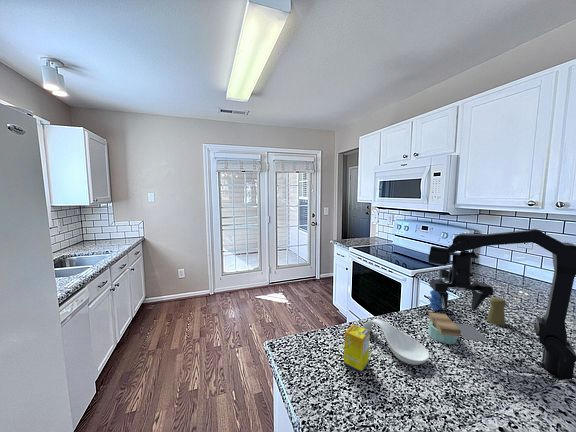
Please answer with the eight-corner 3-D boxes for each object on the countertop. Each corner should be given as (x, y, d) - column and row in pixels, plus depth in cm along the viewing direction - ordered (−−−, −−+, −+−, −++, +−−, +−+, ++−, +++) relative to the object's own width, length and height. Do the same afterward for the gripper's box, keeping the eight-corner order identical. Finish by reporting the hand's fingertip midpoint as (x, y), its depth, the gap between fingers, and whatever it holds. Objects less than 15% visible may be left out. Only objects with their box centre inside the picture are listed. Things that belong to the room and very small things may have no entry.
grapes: (440, 318, 106) (442, 291, 105) (424, 311, 111) (426, 286, 110) (451, 311, 113) (453, 286, 112) (435, 305, 118) (437, 281, 117)
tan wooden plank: (460, 336, 84) (460, 330, 84) (441, 334, 85) (441, 328, 85) (445, 319, 96) (445, 314, 96) (428, 317, 97) (428, 312, 97)
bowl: (461, 346, 86) (462, 334, 85) (433, 343, 87) (434, 331, 87) (450, 332, 94) (451, 321, 94) (425, 329, 96) (425, 319, 96)
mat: (489, 343, 88) (489, 342, 88) (464, 340, 90) (464, 339, 89) (471, 326, 100) (471, 324, 100) (449, 323, 101) (450, 322, 101)
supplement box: (351, 355, 80) (352, 323, 79) (368, 363, 76) (370, 330, 75) (342, 364, 76) (344, 331, 75) (361, 374, 72) (363, 338, 71)
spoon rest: (436, 363, 78) (437, 341, 77) (415, 377, 71) (416, 354, 71) (374, 327, 98) (375, 310, 97) (354, 336, 91) (355, 318, 91)
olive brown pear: (509, 328, 99) (511, 302, 98) (492, 326, 100) (494, 300, 99) (499, 320, 105) (501, 296, 104) (483, 319, 106) (485, 294, 105)
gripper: (477, 263, 94) (474, 302, 95) (425, 261, 98) (423, 298, 99) (496, 272, 83) (493, 316, 85) (436, 269, 87) (434, 311, 88)
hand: (459, 309), depth 89 cm, fingers open, 9 cm apart
